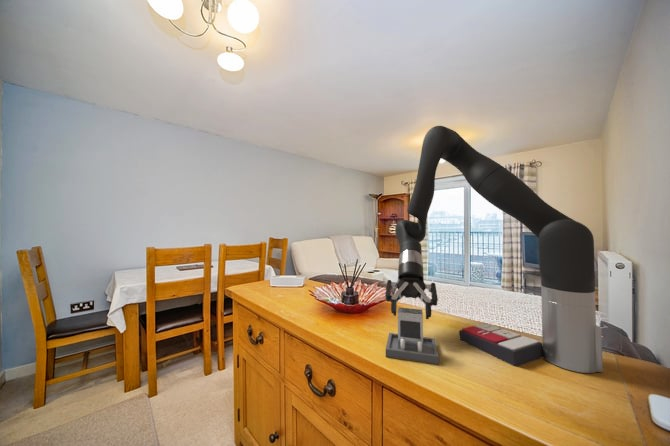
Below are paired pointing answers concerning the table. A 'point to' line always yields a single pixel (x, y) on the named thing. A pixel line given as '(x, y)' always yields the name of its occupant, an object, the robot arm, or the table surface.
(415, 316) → the drive
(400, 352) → the tray
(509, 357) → the red and grey box
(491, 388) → the table surface
